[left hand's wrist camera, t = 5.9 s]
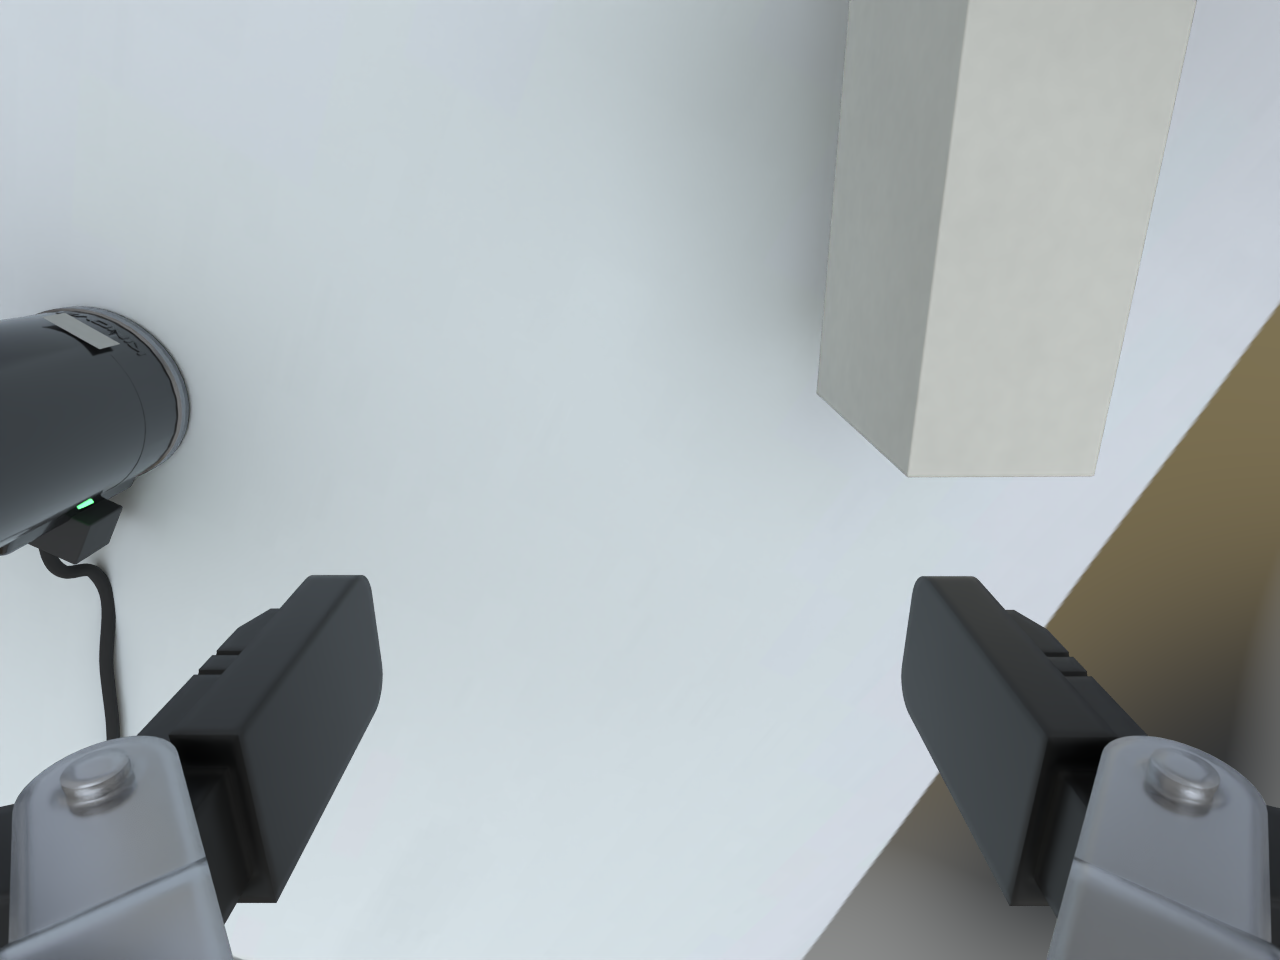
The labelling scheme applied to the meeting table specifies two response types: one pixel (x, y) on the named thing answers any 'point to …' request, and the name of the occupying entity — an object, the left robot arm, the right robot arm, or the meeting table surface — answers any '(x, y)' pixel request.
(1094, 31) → the box
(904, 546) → the meeting table surface
